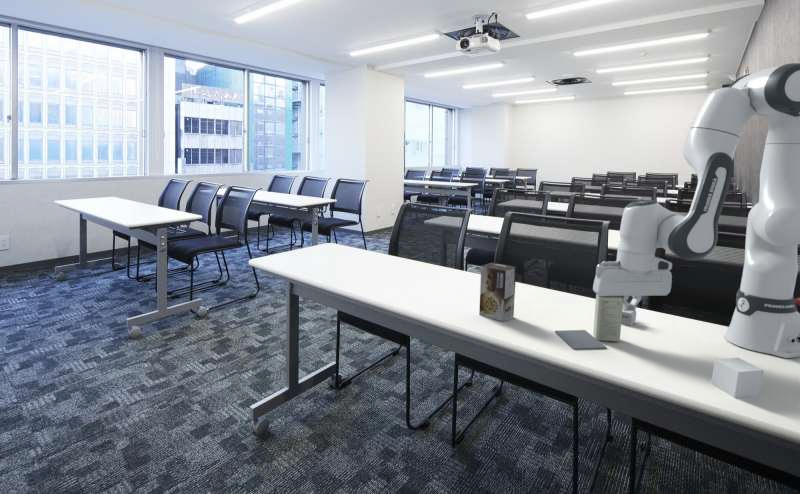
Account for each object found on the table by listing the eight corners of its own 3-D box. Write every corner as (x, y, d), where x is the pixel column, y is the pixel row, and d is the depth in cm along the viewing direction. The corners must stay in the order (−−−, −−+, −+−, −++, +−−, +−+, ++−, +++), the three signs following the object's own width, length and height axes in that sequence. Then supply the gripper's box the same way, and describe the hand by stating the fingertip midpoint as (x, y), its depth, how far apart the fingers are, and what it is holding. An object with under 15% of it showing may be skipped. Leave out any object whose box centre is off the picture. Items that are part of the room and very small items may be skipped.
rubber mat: (584, 331, 131) (584, 330, 131) (606, 348, 119) (606, 347, 119) (554, 331, 130) (554, 330, 130) (573, 349, 118) (573, 348, 118)
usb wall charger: (616, 323, 138) (618, 310, 137) (623, 317, 143) (625, 305, 142) (631, 326, 135) (632, 313, 134) (637, 320, 140) (639, 308, 139)
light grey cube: (758, 396, 97) (763, 370, 95) (734, 398, 96) (738, 372, 94) (734, 382, 102) (738, 357, 101) (710, 384, 102) (714, 359, 100)
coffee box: (514, 316, 142) (517, 266, 139) (503, 322, 137) (506, 270, 134) (489, 309, 148) (491, 261, 145) (478, 314, 144) (480, 265, 140)
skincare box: (616, 335, 127) (620, 293, 124) (620, 342, 122) (624, 298, 120) (592, 333, 128) (595, 292, 126) (595, 340, 124) (598, 297, 121)
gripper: (603, 264, 117) (597, 315, 120) (678, 263, 119) (671, 314, 122) (591, 258, 124) (586, 307, 126) (662, 258, 125) (656, 306, 128)
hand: (628, 310), depth 124 cm, fingers closed
